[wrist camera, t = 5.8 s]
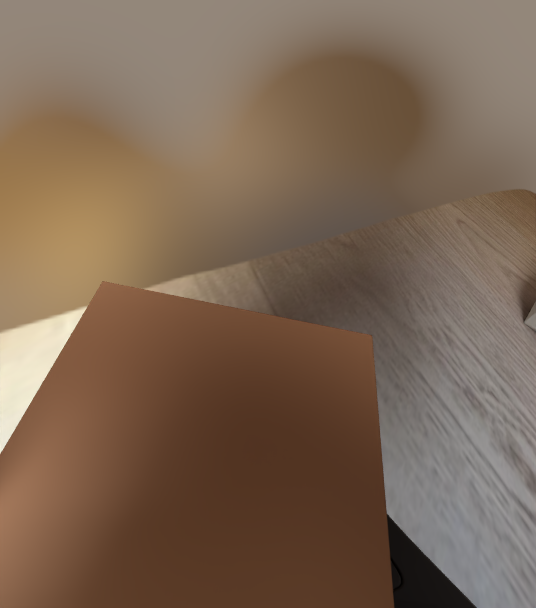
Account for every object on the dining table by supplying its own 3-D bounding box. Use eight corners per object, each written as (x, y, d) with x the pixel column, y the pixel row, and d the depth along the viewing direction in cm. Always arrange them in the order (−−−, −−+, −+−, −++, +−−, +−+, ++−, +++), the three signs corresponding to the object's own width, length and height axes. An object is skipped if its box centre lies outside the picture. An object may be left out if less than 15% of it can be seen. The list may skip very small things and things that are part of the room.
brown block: (253, 524, 12) (414, 849, 2) (153, 509, 12) (-209, 806, 2) (267, 417, 15) (371, 335, 5) (184, 403, 15) (102, 280, 4)
